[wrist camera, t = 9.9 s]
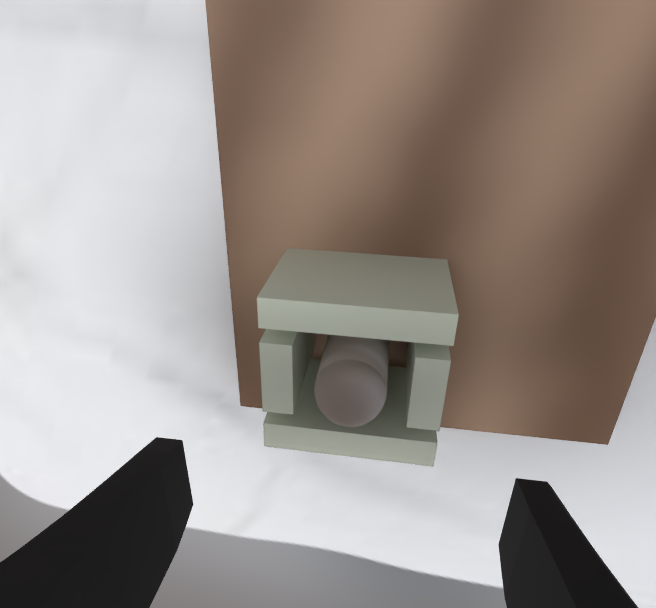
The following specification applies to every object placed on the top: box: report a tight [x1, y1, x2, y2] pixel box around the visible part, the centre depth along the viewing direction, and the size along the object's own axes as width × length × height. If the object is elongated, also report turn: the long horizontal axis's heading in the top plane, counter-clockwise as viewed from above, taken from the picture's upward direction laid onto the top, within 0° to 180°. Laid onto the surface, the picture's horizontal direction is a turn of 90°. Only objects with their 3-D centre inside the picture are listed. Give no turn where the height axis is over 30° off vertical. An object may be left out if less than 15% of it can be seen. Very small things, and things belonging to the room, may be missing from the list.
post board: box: [206, 0, 656, 445], centre depth 14 cm, size 15×19×6 cm
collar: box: [257, 248, 459, 466], centre depth 16 cm, size 6×6×4 cm
